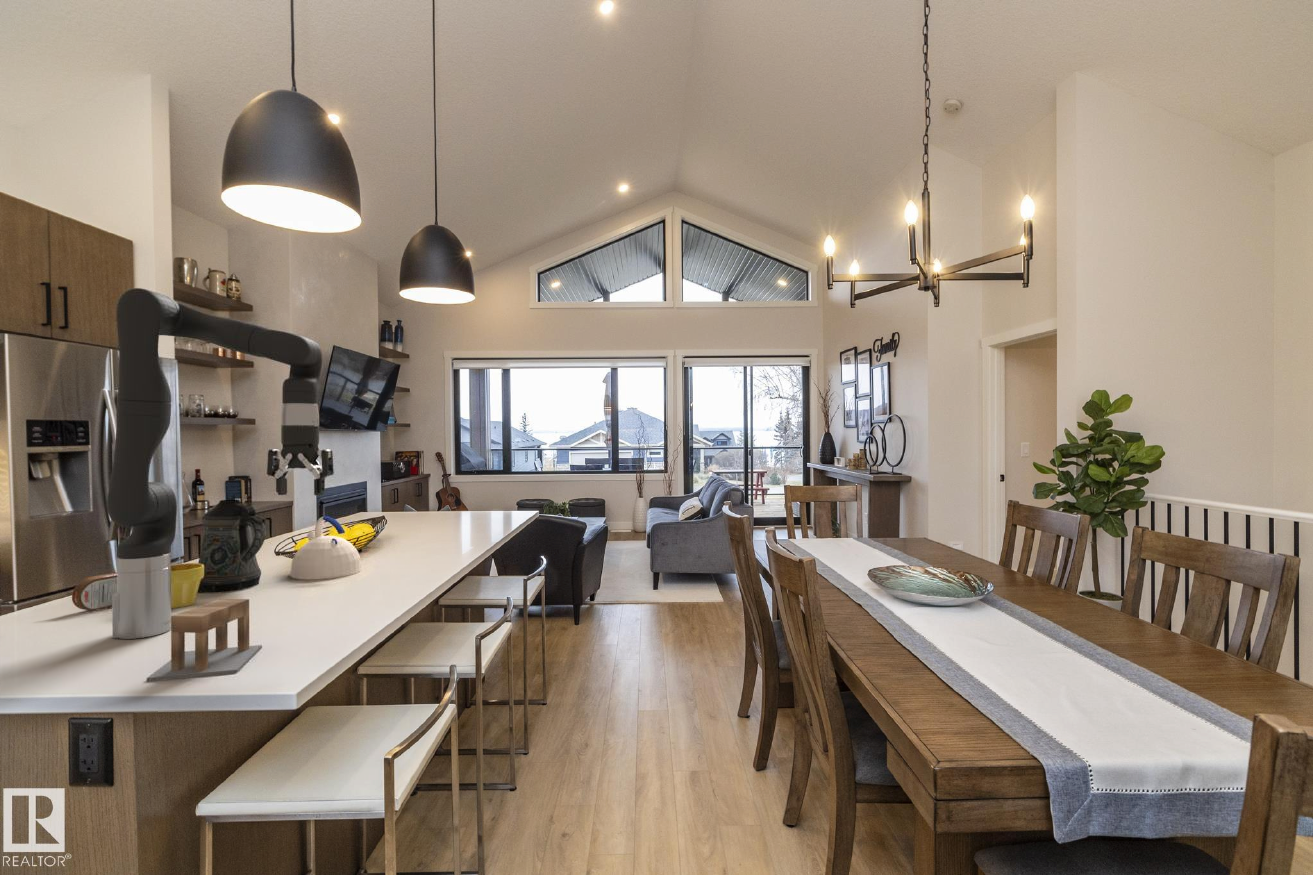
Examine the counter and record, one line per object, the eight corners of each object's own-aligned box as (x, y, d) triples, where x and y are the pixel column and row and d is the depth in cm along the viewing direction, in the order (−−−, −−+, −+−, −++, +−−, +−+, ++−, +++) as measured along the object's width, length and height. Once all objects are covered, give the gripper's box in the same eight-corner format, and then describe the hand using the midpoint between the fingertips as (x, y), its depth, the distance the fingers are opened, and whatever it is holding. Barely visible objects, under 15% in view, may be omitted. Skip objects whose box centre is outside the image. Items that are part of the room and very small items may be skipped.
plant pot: (211, 602, 162) (211, 565, 162) (163, 612, 153) (163, 572, 153) (193, 597, 168) (193, 561, 168) (146, 606, 159) (146, 568, 159)
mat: (146, 681, 110) (146, 677, 110) (181, 654, 124) (181, 651, 124) (237, 672, 114) (237, 669, 114) (261, 647, 128) (261, 644, 128)
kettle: (341, 563, 212) (341, 510, 212) (374, 571, 200) (374, 515, 200) (277, 574, 196) (277, 517, 196) (309, 583, 184) (309, 522, 184)
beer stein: (206, 581, 186) (206, 498, 186) (279, 577, 191) (279, 496, 191) (181, 595, 170) (180, 504, 170) (261, 590, 175) (261, 501, 175)
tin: (140, 598, 166) (140, 567, 166) (148, 600, 165) (148, 568, 165) (70, 613, 152) (70, 579, 152) (78, 615, 151) (78, 580, 151)
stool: (220, 598, 126) (171, 615, 114) (249, 599, 125) (202, 616, 113) (220, 647, 126) (171, 670, 114) (249, 648, 125) (202, 671, 114)
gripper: (258, 423, 138) (259, 496, 138) (320, 423, 137) (320, 496, 137) (281, 424, 146) (281, 493, 146) (339, 424, 145) (340, 493, 145)
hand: (300, 495), depth 142 cm, fingers open, 8 cm apart
